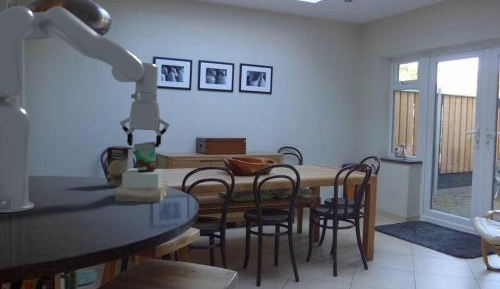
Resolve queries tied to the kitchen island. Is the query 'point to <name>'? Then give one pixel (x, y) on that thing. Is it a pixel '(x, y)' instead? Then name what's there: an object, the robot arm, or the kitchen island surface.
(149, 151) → the food container
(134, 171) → the tower top slab
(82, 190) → the kitchen island surface
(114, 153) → the coffee box
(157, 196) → the tower base slab
